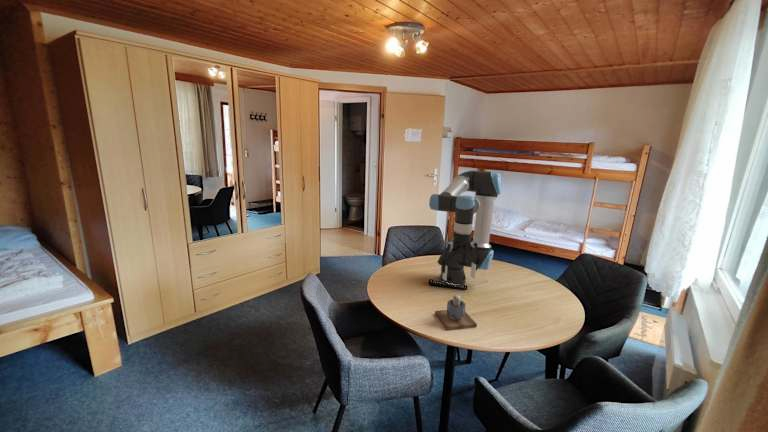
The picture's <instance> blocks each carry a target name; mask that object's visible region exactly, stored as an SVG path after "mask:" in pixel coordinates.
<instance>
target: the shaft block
mask: <svg viewBox="0 0 768 432" xmlns="http://www.w3.org/2000/svg"><path fill="white" fill-rule="evenodd" d="M452 299H453V305H455V306H460V300H461V299H462V298H461V296H460V295H453V297H452ZM461 301H462V300H461ZM434 315H435V317H437V318H438V320H439V321H440V323H441V324H442V325H443V327H444V328H445V330H446V331H452V330H461V329H472V328H477V327H478V324H477V323H476V321H475V320H474V319H473V318H472V317H471V316H470V315H469V314H468V313H467V312H466V311H465V315H464V316H463V317H460V318H455V317H452V316H449V315H448V313H447V309H442V310H435V311H434Z"/></svg>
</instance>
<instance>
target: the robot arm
mask: <svg viewBox="0 0 768 432" xmlns="http://www.w3.org/2000/svg"><path fill="white" fill-rule="evenodd" d="M502 189H503V188H502V176H501V174H500V172H496V171H483V170H482V171H481V170H468V171H464V172H461V173H459V174H457V175H456V176H455V177H453V178H452V180H451V183H450V184H449V185H448V186H447V187H446V188H444V190H443V191H442V192H441V193H439V194H438V193H434V194H431V195H430V197H429V205H428V206H429V209H430V210H433V211H439V212H447V213H454V223H453V225H454V226H453V235H452V236H453V237H452V239H453V240H452V241H449V242H446V243H445V247H444V249H443V251H442V252H441V254H440V256H439V258H438V260H437V264H438V265H439V266H441V268H440V270H441V271H440V274H439V281H440V280H441V281H444V282H448V283H453V284H462V285H461V286H463V285H465V284H466V283H467V282H466V280H467V278H466V273H465V267H468V268H471V269H470V277H471V278H472V279H476V272H477V271H478V270H482V271H487V270H489V268H490V267H491V264H492V260H493V258H494V252H495V251H494V250H493V249H492V245H491V244H490V237H491V229H492V228H491V227H492V222H493V221H492V220H493V211H494V202H495V200H496V199H498V197H499V196H498V195H501V194H502ZM465 192H472V193H475V196H471V195H462V194H463V193H465ZM474 214H475V218H474ZM474 219H475V220H474ZM473 220H474V229H473ZM472 231H473V237H472ZM472 238H473V239H472ZM441 281H440V282H441Z"/></svg>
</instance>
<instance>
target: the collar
mask: <svg viewBox="0 0 768 432" xmlns="http://www.w3.org/2000/svg"><path fill="white" fill-rule="evenodd" d="M446 304H447V305H446V310H447V313H448V315H449V316H452V317H455V318H460V317H463V316H464V315H465V312H466V306H467V305H466V303H465V302H464V301H463V300H460V306H455V305H453V298H452V299H449V300H448V301H447V303H446Z"/></svg>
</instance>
